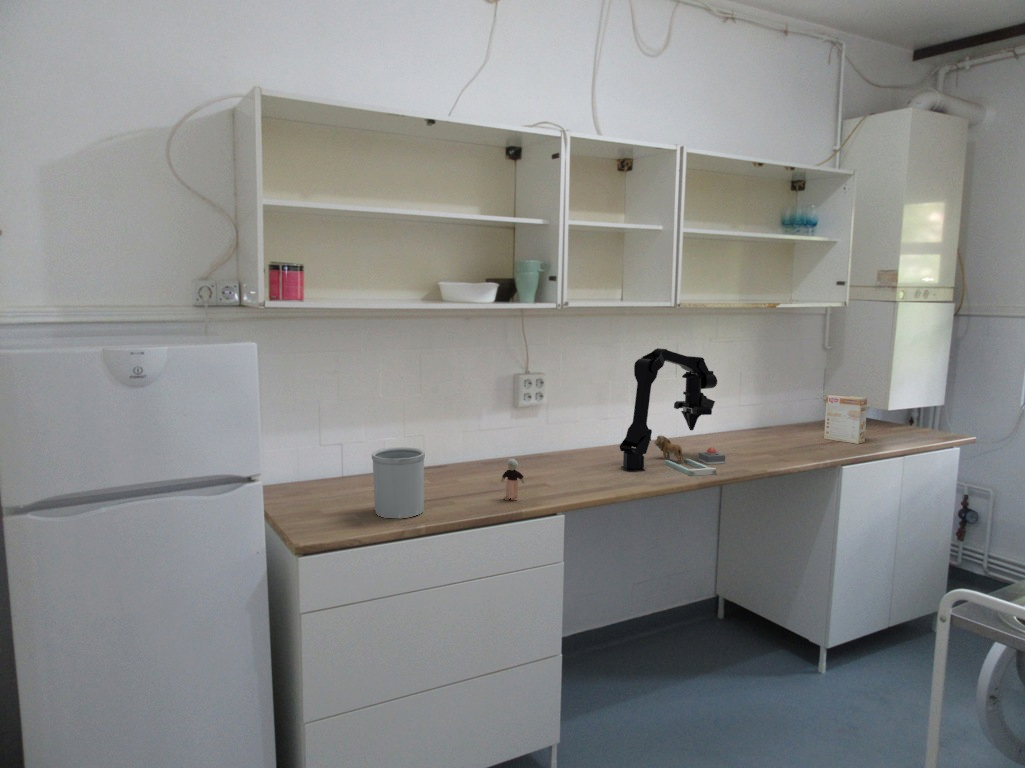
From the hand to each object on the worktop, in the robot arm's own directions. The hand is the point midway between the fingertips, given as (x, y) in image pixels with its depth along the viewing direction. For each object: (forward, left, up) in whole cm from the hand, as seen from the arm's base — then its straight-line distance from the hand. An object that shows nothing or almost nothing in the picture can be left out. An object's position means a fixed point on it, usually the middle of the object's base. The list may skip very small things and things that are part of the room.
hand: (691, 430), depth 276 cm
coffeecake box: (+84, +15, -12) cm, 86 cm away
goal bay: (-9, -14, -11) cm, 20 cm away
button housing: (+5, -6, -11) cm, 14 cm away
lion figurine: (-9, 0, -12) cm, 15 cm away
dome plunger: (+5, -6, -10) cm, 13 cm away
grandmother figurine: (-82, -35, -12) cm, 90 cm away
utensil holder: (-117, -39, -12) cm, 124 cm away
